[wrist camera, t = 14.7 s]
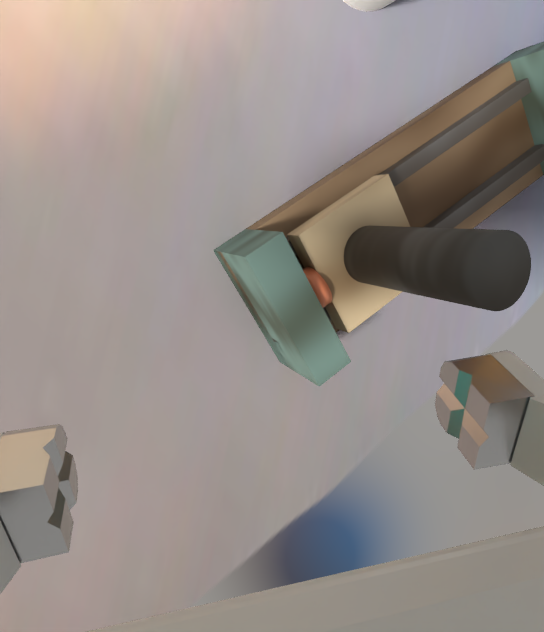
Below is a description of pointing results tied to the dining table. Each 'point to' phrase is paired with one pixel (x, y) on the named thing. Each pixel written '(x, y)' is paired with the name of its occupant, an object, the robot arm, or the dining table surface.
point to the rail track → (414, 195)
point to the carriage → (405, 257)
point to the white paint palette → (368, 4)
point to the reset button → (318, 286)
